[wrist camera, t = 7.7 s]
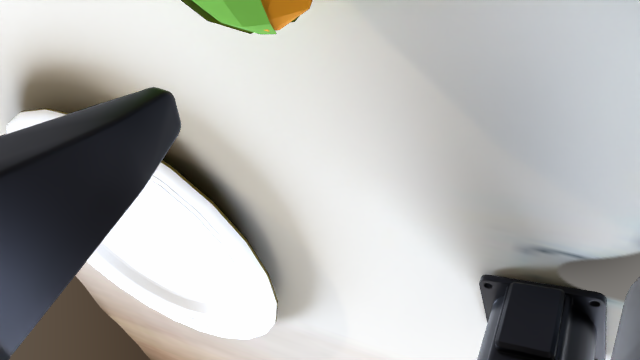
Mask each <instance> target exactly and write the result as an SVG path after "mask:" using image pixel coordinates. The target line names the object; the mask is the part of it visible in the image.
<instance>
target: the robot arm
mask: <svg viewBox="0 0 640 360" xmlns="http://www.w3.org/2000/svg"><path fill="white" fill-rule="evenodd" d="M180 128H181V121H180V117H179V113H178V109H177V106H176V102H175V98H174V96H173V95H172V93H170V92H168V91H166V90H163V89H160V88H156V87H151V88H148V89H145V90H142V91H139V92H135V93H132V94H129V95H126V96H123V97H120V98H117V99H114V100H111V101H107V102H104V103H101V104H98V105H95V106H92V107H89V108H86V109H83V110H80V111H76V112H73V113H70V114H67V115H64V116H61V117H58V118H55V119H52V120H48V121H45V122H42V123H39V124H36V125H33V126H30V127H27V128H24V129H20V130H17V131H14V132H11V133H8V134H5V135H2V136H0V360H9V359H10V355H12V354H13V353H14V352H15V351H16V349H17V348H18V347H19V346H20V344H21V343H22V342H23V341H24V339H25V338H26V337H27V336H28V334H29V333H30V332H31V331H32V329H33V328H34V327H35V325H36V324H37V323H38V322H39V321H40V319H41V318H42V317H43V315H44V314H45V313H46V312H47V310H48V309H49V308H50V307H51V305H52V304H53V303H54V302H55V300H56V299H57V298H58V296H59V295H60V294H61V293H62V291H63V290H64V289H65V288H66V286H67V285H68V284H69V283H70V281H71V280H72V279H73V278H74V276H75V275H76V274H77V273H78V271H79V270H80V269H81V268H82V266H83V265H84V264H85V263H86V261H87V260H88V259H89V258H90V256H91V255H92V254H93V252H94V251H95V250H96V249H97V247H98V246H99V245H100V244H101V242H102V241H103V240H104V239H105V237H106V236H107V235H108V234H109V232H110V231H111V230H112V229H113V227H114V226H115V225H116V224H117V222H118V221H119V220H120V218H121V217H122V216H123V215H124V213H125V212H126V211H127V210H128V208H129V207H130V206H131V205H132V203H133V202H134V201H135V200H136V198H137V197H138V196H139V194H140V193H141V192H142V190H143V189H144V188H145V186H146V185H147V183H148V182H149V180H150V179H151V177H152V175H153V174H154V172H155V171H156V169H157V167H158V166H159V164H160V163H161V161H162V160H163V158H164V156H165V155H166V153H167V152H168V150H169V149H170V147H171V145H172V144H173V142H174V141H175V139H176V138H177V136H178V134H179V132H180ZM479 285H480V290H481V294H482V299H483V304H484V308H485V313H486V318H487V322H488V324H487V327H486V331H485V334H484V338H483V341H482V345H481V349H480V352H479V356H478V359H477V360H605V358H606V304H607V299H606V297H605V296H604V295H603V294H601V293H598V292H593V291H587V290H581V289H575V288H568V287H562V286H555V285H549V284H543V283H536V282H530V281H524V280H517V279H511V278H505V277H498V276H492V275H483V276H482V277H481V280H480V283H479ZM611 360H640V277H639V278H638V279H637V280H636V281H635V282H634V284H633V285H632V286H631V288H630V289H629V291H628V293H627V296H626V299H625V302H624V306H623V310H622V315H621V319H620V323H619V327H618V332H617V336H616V340H615V344H614V348H613V353H612V357H611Z"/></svg>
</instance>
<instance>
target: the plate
mask: <svg viewBox="0 0 640 360" xmlns="http://www.w3.org/2000/svg"><path fill="white" fill-rule="evenodd" d="M67 114H69V113H65V112H61V111H57V110H52V109H48V108H45V109H36V110H28V111H22V112H20V113H19V114H18V115H17V116H16V117H15V118H14V119H12V120H11V121H10V122H9V123H8V124H7V128H6V134H8V133H11V132H14V131H17V130H20V129H24V128H27V127H30V126H33V125H36V124H39V123H42V122H45V121H48V120H52V119H55V118H58V117H61V116H64V115H67ZM87 262H88V263H90V264H91V265H92V266H93V267H94V268H96V269H97V270H98V271H99V272H101V273H102V274H103V275H105V276H106V277H107V278H108V279H110V280H111V281H112V282H113V283H115V284H116V285H117V286H119V287H120V288H122V289H123V290H125V291H126V292H128V293H129V294H131V295H132V296H134V297H135V298H137V299H138V300H140V301H141V302H143V303H144V304H146V305H147V306H149V307H151V308H153V309H155V310H157V311H158V312H160V313H162V314H164V315H166V316H167V317H169V318H171V319H173V320H175V321H178V322H180V323H182V324H185V325H187V326H189V327H192V328H194V329H196V330H199V331H202V332H205V333H209V334H212V335H216V336H220V337H223V338H234V339H251V338H255V337H258V336H262V335H265V334H266V333H267V332H268V331H269V330H270V328H271V327H272V326H273V325H274V324H275V322H276V318H277V305H278V301H277V298H276V295H275V292H274V289H273V286H272V283H271V280H270V277H269V274H268V272H267V271H266V269H265V268H264V266H263V265H262V263H261V261H260V260H259V258H258V257H257V255H256V254H255V252H254V250H253V249H252V247H251V246H250V244H249V243H248V241H247V239H246V238H245V237H244V236H243V235H242V234H241V233H240V231H239V230H238V229H237V228H236V227H235V226H234V225H233V224H232V222H231V221H230V220H229V219H228V218H227V217H226V216H225V215H224V213H223V212H222V211H221V210H220V209H219V208H218V207H217V206H216V205H215V203H214V202H213V201H211V200H210V199H209V198H208V197H207V196H206V195H204V194H203V193H202V192H201V191H200V190H199V189H197V188H196V187H195V186H194V185H193V184H192V183H190V182H189V181H188V180H187V179H186V178H185V177H184V176H182V175H181V174H180V173H179V172H178V171H177V170H175V169H174V168H173V167H172V166H170V165H169V164H167V163H166V162H164V161H163V160H162V161H161V163H160V164H159V166H158V167H157V169H156V171H155V172H154V174H153V175H152V177H151V179H150V180H149V182H148V183H147V185H146V186H145V188H144V189H143V190H142V192H141V193H140V194H139V196H138V197H137V198H136V200H135V201H134V202H133V203H132V205H131V206H130V207H129V208H128V210H127V211H126V212H125V213H124V215H123V216H122V217H121V218H120V220H119V221H118V222H117V224H116V225H115V226H114V227H113V229H112V230H111V231H110V232H109V234H108V235H107V236H106V237H105V239H104V240H103V241H102V242H101V244H100V245H99V246H98V247H97V249H96V250H95V251H94V252H93V254H92V255H91V256H90V258H89V259H88V260H87Z"/></svg>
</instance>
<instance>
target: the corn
mask: <svg viewBox="0 0 640 360" xmlns="http://www.w3.org/2000/svg"><path fill="white" fill-rule="evenodd" d="M181 1H182V2H184V3H185V4H186V5H188V6H189V7H190V8H191V9H193V10H194V11H195V12H197V13H198V14H199V15H201V16H202V17H203V18H204V19H206V20H207V21H210V22H213V23H216V24H220V25H223V26H226V27H230V28H233V29H236V30H239V31H243V32H246V33H249V34H251V33H253V32H254V33H258V34H276V32H275V30H280V29H281V28H283V27H284V26H286V25H287V24H289V23H290V22H295V21H296V19H297V18H298V17H299V16H300V15H301V14H303V13H304V12H305V11H307V10H308V9H310V6H311V3H312V0H181Z"/></svg>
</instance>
